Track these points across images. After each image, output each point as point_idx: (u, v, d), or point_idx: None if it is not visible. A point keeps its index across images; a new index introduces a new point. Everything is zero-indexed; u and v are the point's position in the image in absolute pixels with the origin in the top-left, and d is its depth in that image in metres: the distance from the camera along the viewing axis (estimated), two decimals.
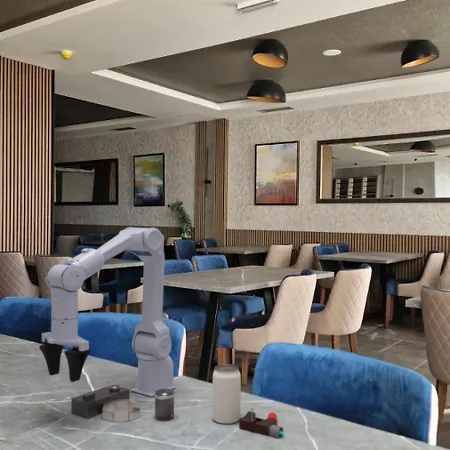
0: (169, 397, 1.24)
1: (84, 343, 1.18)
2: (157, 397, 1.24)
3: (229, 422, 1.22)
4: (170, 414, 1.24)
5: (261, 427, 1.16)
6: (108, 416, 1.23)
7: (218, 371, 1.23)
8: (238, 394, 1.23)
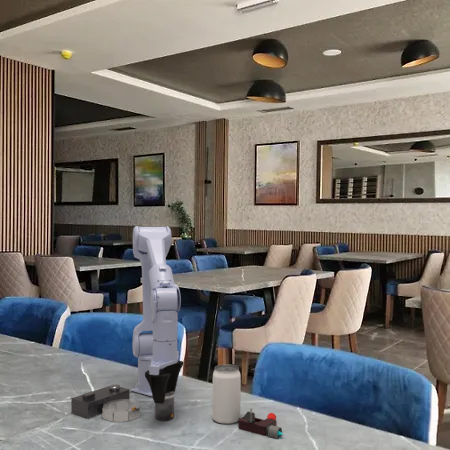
0: (169, 397, 1.24)
1: (152, 367, 1.18)
2: None
3: (229, 422, 1.22)
4: (170, 414, 1.24)
5: (260, 427, 1.16)
6: (108, 416, 1.23)
7: (218, 371, 1.23)
8: (238, 394, 1.23)
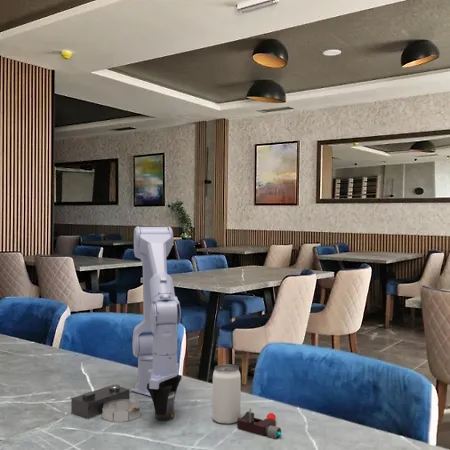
0: (169, 397, 1.24)
1: (152, 381, 1.18)
2: None
3: (229, 422, 1.22)
4: (170, 414, 1.24)
5: (259, 428, 1.16)
6: (108, 416, 1.23)
7: (218, 371, 1.23)
8: (238, 394, 1.23)
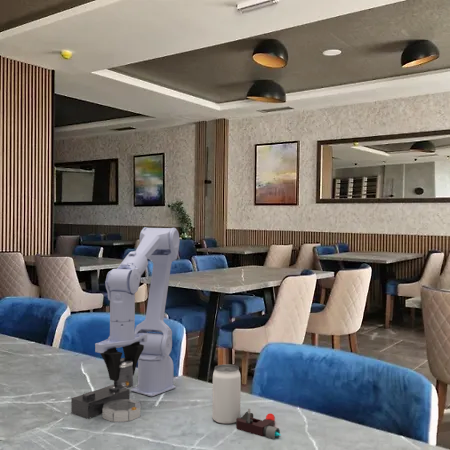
0: (123, 365, 1.24)
1: (97, 345, 1.21)
2: None
3: (229, 422, 1.22)
4: (125, 382, 1.25)
5: (257, 428, 1.16)
6: (108, 416, 1.23)
7: (218, 371, 1.23)
8: (238, 394, 1.23)
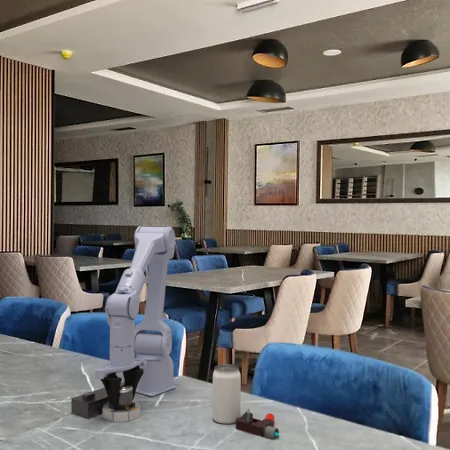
0: (123, 390, 1.24)
1: (97, 371, 1.21)
2: None
3: (229, 422, 1.22)
4: (125, 407, 1.25)
5: (257, 428, 1.16)
6: (108, 416, 1.23)
7: (218, 371, 1.23)
8: (238, 394, 1.23)
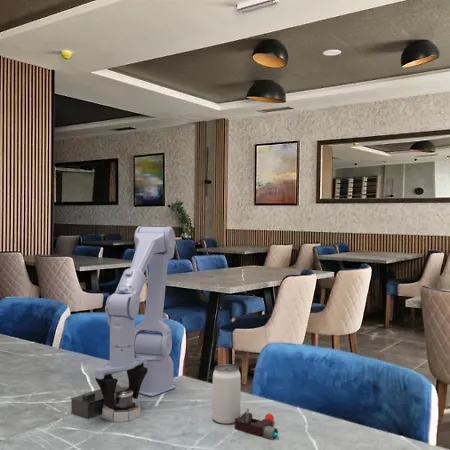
0: (124, 395, 1.24)
1: (97, 371, 1.21)
2: None
3: (229, 422, 1.22)
4: None
5: (256, 428, 1.16)
6: (108, 416, 1.23)
7: (218, 371, 1.23)
8: (238, 394, 1.23)
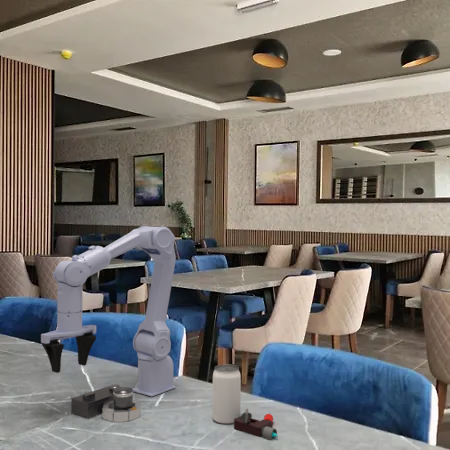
0: (124, 395, 1.24)
1: (43, 336, 1.23)
2: (113, 394, 1.25)
3: (229, 422, 1.22)
4: None
5: (255, 428, 1.16)
6: (108, 416, 1.23)
7: (218, 371, 1.23)
8: (238, 394, 1.23)
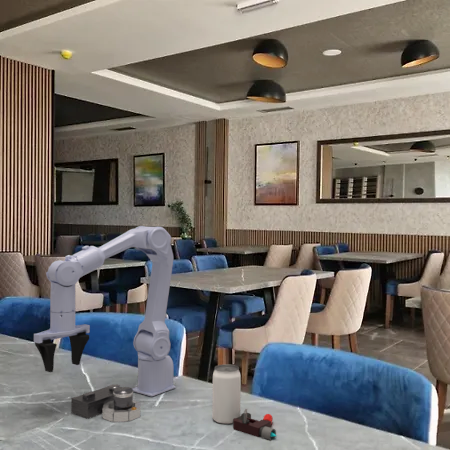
0: (124, 396, 1.24)
1: (35, 335, 1.23)
2: (113, 394, 1.25)
3: (229, 422, 1.22)
4: None
5: (253, 428, 1.16)
6: (108, 416, 1.23)
7: (218, 371, 1.23)
8: (238, 394, 1.23)
